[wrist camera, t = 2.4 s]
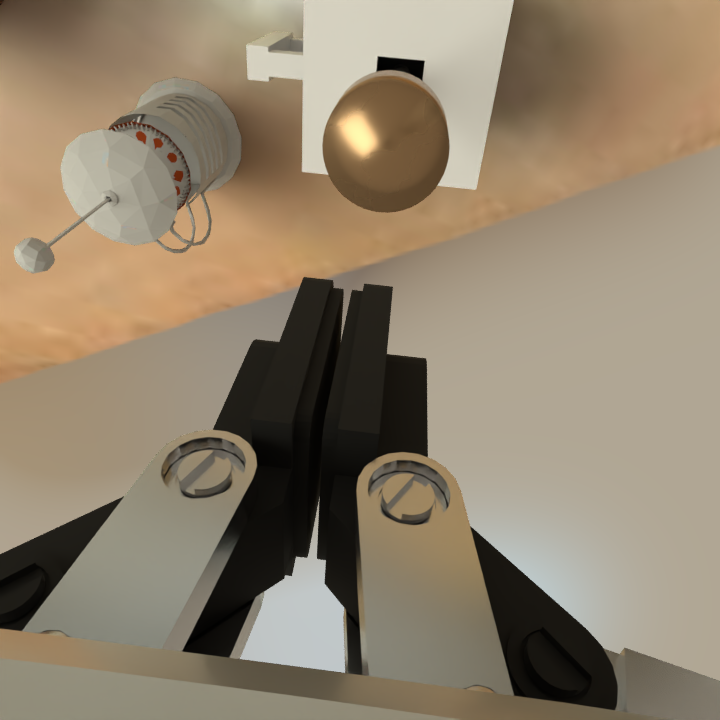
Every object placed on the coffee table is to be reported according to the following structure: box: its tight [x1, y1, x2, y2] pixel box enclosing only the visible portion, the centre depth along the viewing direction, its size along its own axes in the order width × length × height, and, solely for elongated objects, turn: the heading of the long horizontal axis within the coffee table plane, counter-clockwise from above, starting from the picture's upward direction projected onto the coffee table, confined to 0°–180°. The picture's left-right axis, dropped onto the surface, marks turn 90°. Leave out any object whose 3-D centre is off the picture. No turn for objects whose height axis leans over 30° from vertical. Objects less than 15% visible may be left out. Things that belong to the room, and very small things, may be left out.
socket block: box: [246, 0, 514, 190], centre depth 39 cm, size 16×12×13 cm
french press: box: [14, 78, 242, 273], centre depth 40 cm, size 10×12×25 cm
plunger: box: [322, 64, 450, 212], centre depth 29 cm, size 5×5×18 cm
